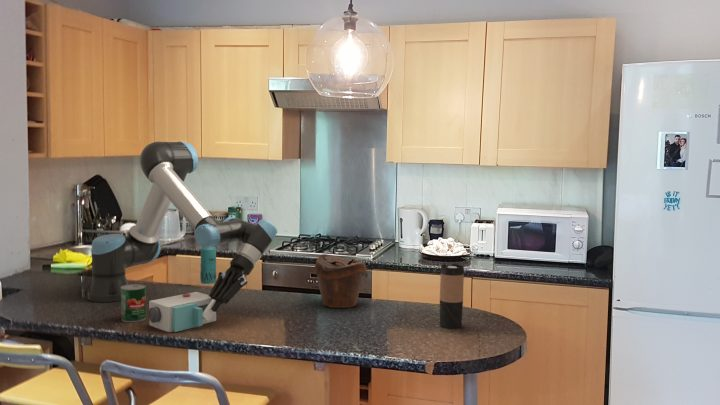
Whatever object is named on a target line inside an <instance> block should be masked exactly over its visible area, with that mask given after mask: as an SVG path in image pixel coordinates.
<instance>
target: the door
mask: <svg viewBox="0 0 720 405" xmlns="http://www.w3.org/2000/svg"><path fill="white" fill-rule="evenodd" d="M172 310H173V331H172V332H175V333H176V332H181V331H185V330H188V329H193V328H197V327H201V326H204V324H203V308H200V307H197V304H196V303H191V304H186V305H182V306H177V307H172Z"/></svg>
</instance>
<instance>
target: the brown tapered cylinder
mask: <svg viewBox="0 0 720 405" xmlns="http://www.w3.org/2000/svg"><path fill="white" fill-rule="evenodd" d="M313 272H314V274H315V275H316V278H317V282H318V287H319V291H320V296H321V302H322V305H323V306H325V307H329V308H336V309H339V308H340V309H343V308H344V309H346V308H347V309H348V308H353V307H355V306H357V304H358V299H359V294H360V290H361V286H362V281H363V277H364V278H366V279H367V278H368V276H369V275H368V269H367V266H366V264H365V263H364V262H363V261H358V262H357V260H356V259H354V258H352V259H351V260H349V259H346V258H342V257H338V256H336V255H332V254H327V253H326V254H325V253H324V254H320V255H319V256H318V257H317V258H316V261H315V265H314V268H313Z"/></svg>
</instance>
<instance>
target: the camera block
mask: <svg viewBox="0 0 720 405" xmlns="http://www.w3.org/2000/svg"><path fill="white" fill-rule="evenodd" d="M210 301H211V297H210V296H209V294H206V293H202V292H199V291H193V292H188V293H183V294H178V295H173V296H167V297H163V298H162V297H161V298H158V299H152V300H149V301H148V306H149V308H148V313H147V314H148V319H149V326H150V327H152V328H156V329H157V330H161V331H164V332H167V333H172V332H174V331H173V310H172V307H177V306H182V305H186V304H191V303H196V304H197V307H200V308H203V312H204V310H205V309H206V307H207V305H208V304H209V302H210ZM216 321H217V311H216V312H215V313H214V314H213V316H212V317H211V318H210V320H209V321H206V320H205V319H204V318H203V325H204V324H208V323H209V324H210V323H213V322H216Z"/></svg>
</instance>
